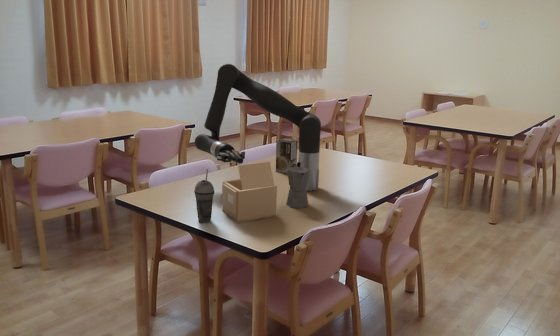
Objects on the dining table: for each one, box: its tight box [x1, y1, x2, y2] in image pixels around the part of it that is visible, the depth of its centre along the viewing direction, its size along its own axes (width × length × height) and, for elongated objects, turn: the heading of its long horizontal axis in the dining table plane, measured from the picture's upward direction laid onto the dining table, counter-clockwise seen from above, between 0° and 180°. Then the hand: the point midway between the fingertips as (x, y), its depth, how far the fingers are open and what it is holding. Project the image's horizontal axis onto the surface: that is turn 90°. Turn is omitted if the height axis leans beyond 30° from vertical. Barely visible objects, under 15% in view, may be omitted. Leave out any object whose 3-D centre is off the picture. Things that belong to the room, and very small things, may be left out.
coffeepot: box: [286, 161, 310, 209], centre depth 206 cm, size 15×9×18 cm, turn 13°
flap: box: [237, 161, 275, 190], centre depth 187 cm, size 1×13×9 cm, turn 121°
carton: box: [221, 178, 278, 224], centre depth 194 cm, size 15×18×12 cm
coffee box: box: [275, 138, 298, 174], centre depth 255 cm, size 9×6×16 cm
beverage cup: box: [193, 168, 215, 224], centre depth 184 cm, size 7×7×20 cm
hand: (241, 160), depth 196 cm, fingers closed
